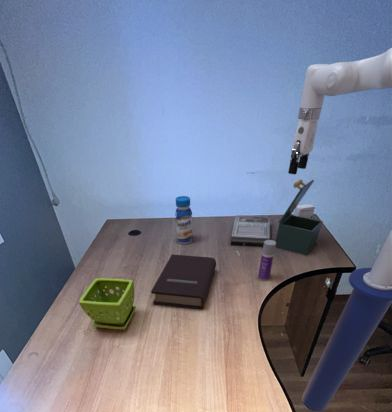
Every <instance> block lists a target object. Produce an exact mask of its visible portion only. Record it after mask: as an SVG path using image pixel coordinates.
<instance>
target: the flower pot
mask: <svg viewBox="0 0 392 412" xmlns="http://www.w3.org/2000/svg"><path fill="white" fill-rule="evenodd" d="M117 288H118V289H117ZM110 290H111V291H113V293H111V291H110ZM134 303H135V283H134V281H133V279H125V278H110V277H109V278H106V277H97V278H95V279H94V280H93V281H92V282H91V283H90V285H89V286H88V287H87V289H86V290H85V291H84V293H83V294H82V296H81V297H80V299H79V301H78V304H79V306H80V308H81V309H82V310H83V312H84V313H85V314H86V316H88V317H89V318H90V320H93V322H92V323H91V326H93V327H94V328H95V327H96V328H99V329H100V328H101V329H110V330H120V331H125V330H126V328H127V327H128V324H129V323H130V321H131V319H132V317H133V315H134V313H135V311H136V308H137V306H136V305H134Z"/></svg>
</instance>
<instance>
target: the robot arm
mask: <svg viewBox="0 0 392 412" xmlns="http://www.w3.org/2000/svg"><path fill="white" fill-rule="evenodd" d="M390 88H391V89H392V47H390V48H389V49H387V50H386V51H385V52H383V53H381V54H377V55H375V56H371V57H368V58H364V59H359V60H354V61H340V62H333V63H330V64H328V63H317V64H315V63H314V64H311V65H309V66H308V67H307V69H306V72H305V76H304V81H303V87H302V92H301V98H300V104H299V108H298V112H297V117H296V118H297V121H298V122H297V126H296V130H295V134H294V138H293V144H292V147H291V155H290V159H289V167H288V171H287V173H288V174H289V175H297V174H298V173H297V172H298V169H301V170H305V169H307V165H308V161H309V156H310V153H311V152H312V151H313V149H314V144H315V139H316V134H317V127H318V121H319V120H320V116H321V113H322V110H323V109H322V108H323V104H324V100H325V96H327V97H336V96H341V95H348V94H353V93H357V92H358V93H359V92H364V91H369V90H386V89H387V90H388V89H390ZM383 243H384V244H383V245H382V248H381V250H380V252H379V254H378V256H377V257H376V259H375V262H374V263H373V265H372V267H371V268H372V269H371V271H370V272H368V273H366V274H365V275H364V276H363V281H364V282H365V283H366V284H367V285H368V286H370V287H372V288H375V289H379V290H392V229H391V230H390V232H389V234H388V235H387V237H386V240H385V241H384V242H383Z"/></svg>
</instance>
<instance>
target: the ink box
mask: <svg viewBox="0 0 392 412" xmlns="http://www.w3.org/2000/svg"><path fill="white" fill-rule="evenodd" d="M315 209H316V206H314V205H313V204H311V203H308V204H307V203H306V204H298V205H297V207H296V208H295V210H294V211H293V215H294V216H299V217H304V218H309V219H313V217H314V212H315Z"/></svg>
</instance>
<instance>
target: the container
mask: <svg viewBox="0 0 392 412" xmlns="http://www.w3.org/2000/svg"><path fill="white" fill-rule="evenodd" d="M276 248H277V247H276V240H273V239H269V240H266V241H264V246H263V247H262V252H261V255H260V256H261V257H260V262H259V263H260V264H259V270H258V275H257V276H258V277H257V278H258V280H260V281H269V280H270V278H271V273H272V268H273V263H274V257H275V252H276Z"/></svg>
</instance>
